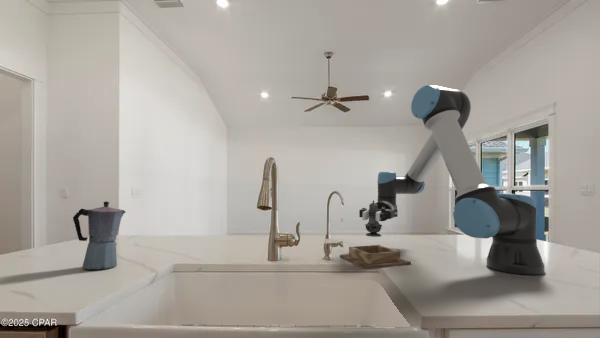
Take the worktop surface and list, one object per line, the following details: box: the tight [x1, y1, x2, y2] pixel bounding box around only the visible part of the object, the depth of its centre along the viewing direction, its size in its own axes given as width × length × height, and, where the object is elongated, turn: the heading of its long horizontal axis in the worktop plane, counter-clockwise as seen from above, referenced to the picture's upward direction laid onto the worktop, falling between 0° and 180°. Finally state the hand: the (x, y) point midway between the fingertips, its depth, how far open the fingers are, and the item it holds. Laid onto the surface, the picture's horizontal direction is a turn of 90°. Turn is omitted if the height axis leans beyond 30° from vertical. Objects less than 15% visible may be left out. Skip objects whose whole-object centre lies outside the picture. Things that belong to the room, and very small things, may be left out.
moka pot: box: [72, 200, 126, 270], centre depth 99 cm, size 10×15×20 cm, turn 155°
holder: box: [339, 244, 412, 270], centre depth 111 cm, size 17×17×4 cm
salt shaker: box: [364, 200, 383, 238], centre depth 112 cm, size 6×6×12 cm
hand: (370, 216), depth 107 cm, fingers closed on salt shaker, 4 cm apart
